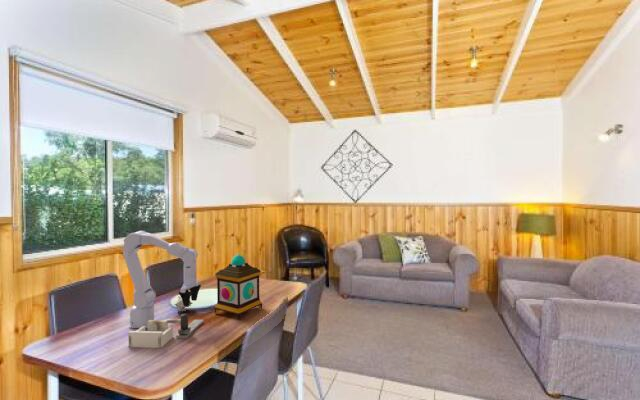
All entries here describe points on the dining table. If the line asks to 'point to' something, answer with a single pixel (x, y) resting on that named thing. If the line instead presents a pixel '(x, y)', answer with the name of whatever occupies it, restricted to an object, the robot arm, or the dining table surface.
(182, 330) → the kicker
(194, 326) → the rail
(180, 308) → the game die
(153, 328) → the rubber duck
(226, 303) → the decorative lantern
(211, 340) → the dining table surface
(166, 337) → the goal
